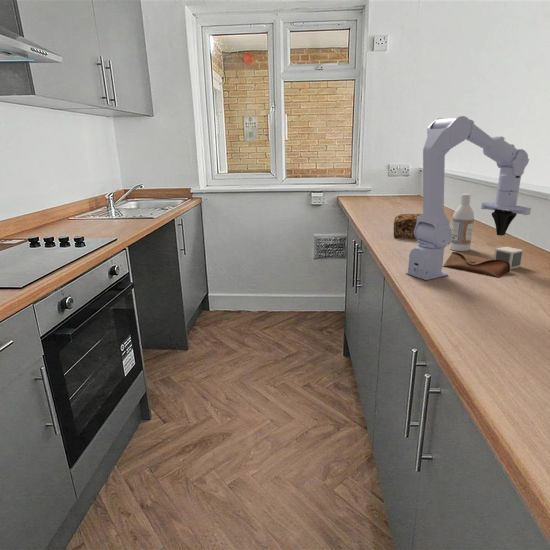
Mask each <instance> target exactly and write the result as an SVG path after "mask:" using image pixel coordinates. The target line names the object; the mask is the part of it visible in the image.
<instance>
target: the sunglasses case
mask: <svg viewBox="0 0 550 550" xmlns="http://www.w3.org/2000/svg"><path fill="white" fill-rule="evenodd" d="M446 267H447V268H449V269H454V270H458V271H459V270H460V271H463V270H465V271H464V272H470V273H474V274H479V275H484V274H485V276H488V275H489V277H493V278H498V279H499V278H501V277H502V276H504V275H507V274H508V273H510V270H511V269H510V264H509V263H508V262H506V261H503V260H494V258H488V257H481V256H478V255H477V256H476V255H472V254H471V255H470V254H464V253H460V252H459V251H453V252H451V254H450V256H449V257H448V259H447V260H446V261H445V263H443V265H442V268H446ZM507 272H508V273H507Z"/></svg>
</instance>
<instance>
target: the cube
mask: <svg viewBox="0 0 550 550" xmlns="http://www.w3.org/2000/svg"><path fill="white" fill-rule="evenodd" d="M523 253H524V250H523V249H521V248H516V247H515V248H514V247H510V246H501V247H497V248H495V251H494V257H493V260H503V261H506V262H508V263H509V264H510V270H513V268H514V269H517V268H520V267H521V266H522V265H521V263H522V260H523Z"/></svg>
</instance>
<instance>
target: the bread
mask: <svg viewBox="0 0 550 550" xmlns="http://www.w3.org/2000/svg"><path fill="white" fill-rule="evenodd" d="M421 214H422V213H403V214H401V213H400V214H398V215H397V216H394V220H393V238H394V239H402V238H403V239H405V240H417V239H416V238H415V235H414V229H415V227H416V224H417V218H418V217H419V216H420V215H421Z"/></svg>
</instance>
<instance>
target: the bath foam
mask: <svg viewBox="0 0 550 550" xmlns="http://www.w3.org/2000/svg"><path fill="white" fill-rule="evenodd" d="M470 203H471V194H470V193H462V194H461V196H460V204H459V205H458V206H457V208H456V209H455V211H454V213H453V214H452V215H453V216H452V220H451V227H450V228H451V230H452V238H451V240H450V242H449V245H448V247H449V249H450V250H452V251H453V252H468V251H470V250H471V249H470V248H471V244H472V237H473V229H474V221H475V215H474V214H475V213H474V211H473V208H472V207H471V205H470Z"/></svg>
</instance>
